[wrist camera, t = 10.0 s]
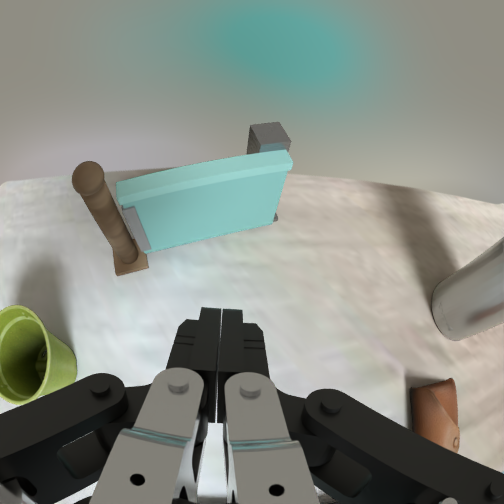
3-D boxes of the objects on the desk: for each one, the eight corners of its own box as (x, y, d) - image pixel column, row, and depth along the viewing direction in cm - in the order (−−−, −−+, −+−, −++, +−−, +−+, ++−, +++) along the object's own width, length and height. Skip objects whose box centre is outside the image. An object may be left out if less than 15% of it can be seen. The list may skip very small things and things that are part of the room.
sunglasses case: (454, 487, 21) (463, 504, 16) (407, 499, 24) (409, 518, 18) (453, 373, 29) (465, 373, 24) (406, 386, 32) (410, 388, 26)
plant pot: (17, 368, 24) (-28, 355, 17) (53, 311, 28) (13, 286, 21) (65, 422, 23) (21, 425, 15) (104, 361, 27) (67, 349, 19)
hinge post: (143, 238, 34) (106, 143, 20) (148, 267, 32) (106, 178, 18) (113, 246, 33) (63, 157, 19) (117, 276, 31) (58, 193, 17)
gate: (143, 256, 32) (116, 198, 22) (141, 243, 33) (115, 182, 23) (274, 225, 35) (293, 162, 26) (269, 213, 36) (285, 149, 26)
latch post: (265, 194, 39) (282, 117, 27) (277, 220, 37) (300, 145, 25) (233, 200, 38) (240, 121, 26) (244, 228, 36) (256, 151, 24)
